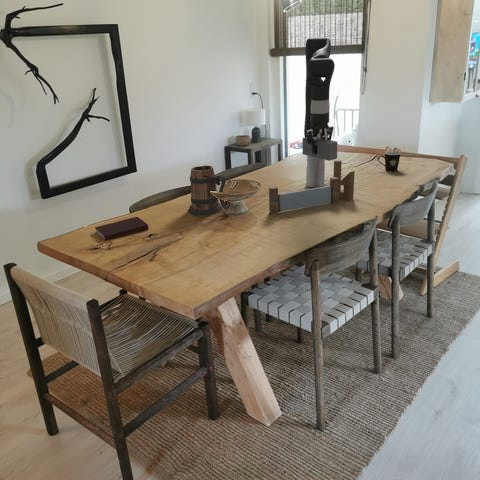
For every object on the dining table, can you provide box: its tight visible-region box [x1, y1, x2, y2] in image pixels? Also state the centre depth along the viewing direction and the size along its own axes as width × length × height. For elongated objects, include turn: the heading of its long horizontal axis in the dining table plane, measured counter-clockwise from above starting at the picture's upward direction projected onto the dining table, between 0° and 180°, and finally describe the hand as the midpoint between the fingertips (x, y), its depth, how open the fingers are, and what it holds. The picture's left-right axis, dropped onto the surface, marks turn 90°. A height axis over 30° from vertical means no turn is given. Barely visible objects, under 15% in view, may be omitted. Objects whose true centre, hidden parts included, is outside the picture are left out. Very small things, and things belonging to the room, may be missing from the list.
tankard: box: [187, 164, 231, 217], centre depth 218 cm, size 24×17×20 cm
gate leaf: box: [278, 185, 331, 213], centre depth 217 cm, size 2×27×8 cm, turn 111°
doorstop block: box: [302, 136, 339, 161], centre depth 198 cm, size 16×4×7 cm, turn 35°
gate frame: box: [268, 176, 340, 216], centre depth 216 cm, size 3×34×12 cm, turn 111°
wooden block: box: [332, 159, 355, 202], centre depth 225 cm, size 4×11×18 cm, turn 40°
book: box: [94, 216, 149, 242], centre depth 202 cm, size 12×19×3 cm, turn 124°
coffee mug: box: [377, 151, 402, 173], centre depth 270 cm, size 12×9×10 cm
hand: (319, 152), depth 198 cm, fingers closed on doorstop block, 4 cm apart
